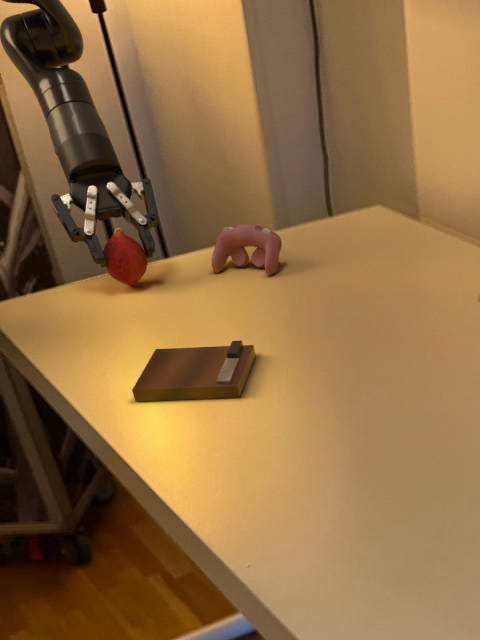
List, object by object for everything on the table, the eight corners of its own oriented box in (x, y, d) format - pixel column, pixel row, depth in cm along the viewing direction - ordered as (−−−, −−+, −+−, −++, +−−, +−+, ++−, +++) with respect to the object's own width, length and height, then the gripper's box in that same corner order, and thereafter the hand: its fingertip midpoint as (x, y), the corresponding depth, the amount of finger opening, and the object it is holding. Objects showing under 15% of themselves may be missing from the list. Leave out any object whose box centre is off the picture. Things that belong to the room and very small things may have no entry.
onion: (128, 297, 137) (111, 238, 132) (103, 288, 140) (86, 231, 134) (161, 283, 140) (146, 225, 135) (136, 275, 143) (120, 218, 138)
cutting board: (135, 402, 112) (129, 382, 110) (158, 360, 120) (153, 341, 119) (239, 397, 112) (235, 378, 110) (255, 356, 120) (252, 337, 119)
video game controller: (284, 278, 144) (286, 227, 142) (271, 274, 140) (272, 222, 138) (223, 275, 146) (223, 224, 144) (208, 271, 142) (208, 219, 140)
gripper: (27, 139, 130) (72, 256, 130) (135, 122, 135) (179, 235, 135) (34, 173, 138) (77, 284, 137) (136, 155, 142) (178, 262, 142)
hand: (127, 259), depth 136 cm, fingers closed on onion, 5 cm apart
